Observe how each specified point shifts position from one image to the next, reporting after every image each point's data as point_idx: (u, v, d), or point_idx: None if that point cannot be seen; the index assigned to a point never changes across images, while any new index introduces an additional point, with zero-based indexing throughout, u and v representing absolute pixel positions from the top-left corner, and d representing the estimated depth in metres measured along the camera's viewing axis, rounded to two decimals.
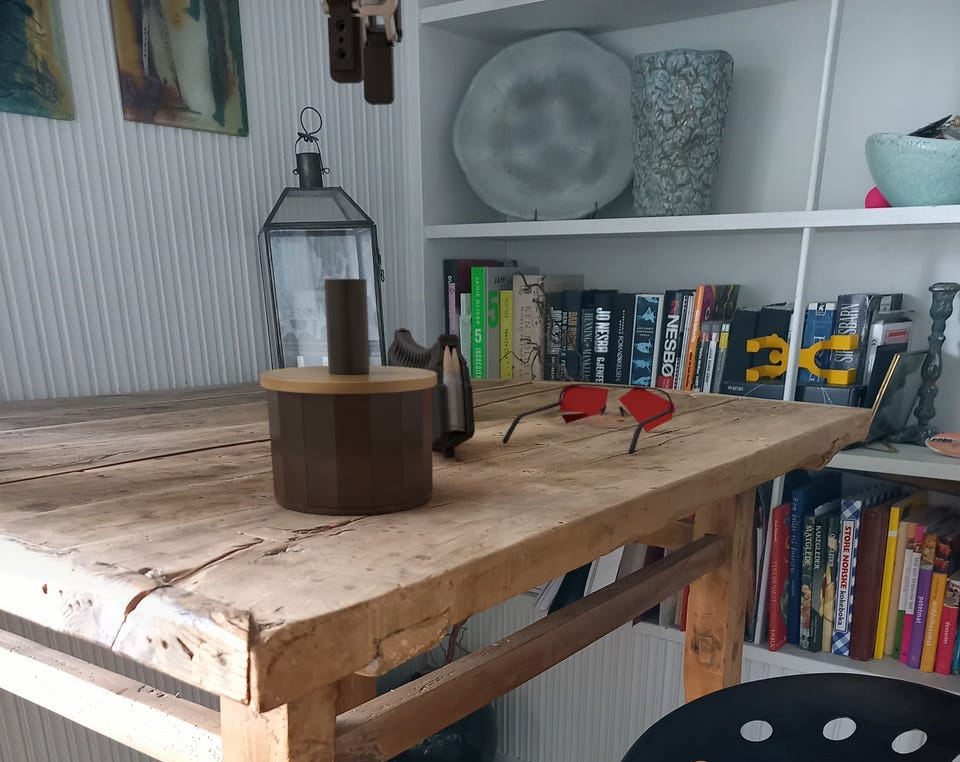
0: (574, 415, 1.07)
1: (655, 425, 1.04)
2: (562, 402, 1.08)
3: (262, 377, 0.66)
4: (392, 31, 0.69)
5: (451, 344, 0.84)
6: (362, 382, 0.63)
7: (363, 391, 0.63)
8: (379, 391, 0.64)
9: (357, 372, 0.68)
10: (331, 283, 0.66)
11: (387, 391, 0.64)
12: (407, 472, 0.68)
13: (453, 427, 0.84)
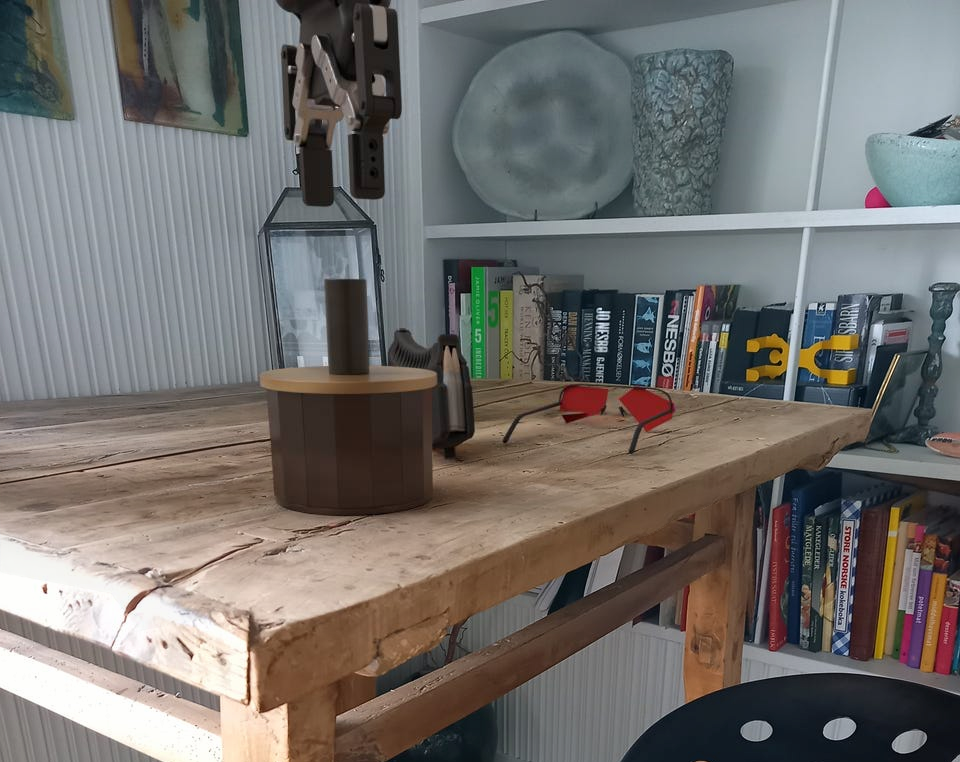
0: (574, 415, 1.07)
1: (655, 425, 1.04)
2: (562, 402, 1.08)
3: (262, 377, 0.66)
4: None
5: (451, 344, 0.84)
6: (362, 382, 0.63)
7: (363, 391, 0.63)
8: (379, 391, 0.64)
9: (357, 372, 0.68)
10: (331, 283, 0.66)
11: (387, 391, 0.64)
12: (407, 472, 0.68)
13: (453, 427, 0.84)
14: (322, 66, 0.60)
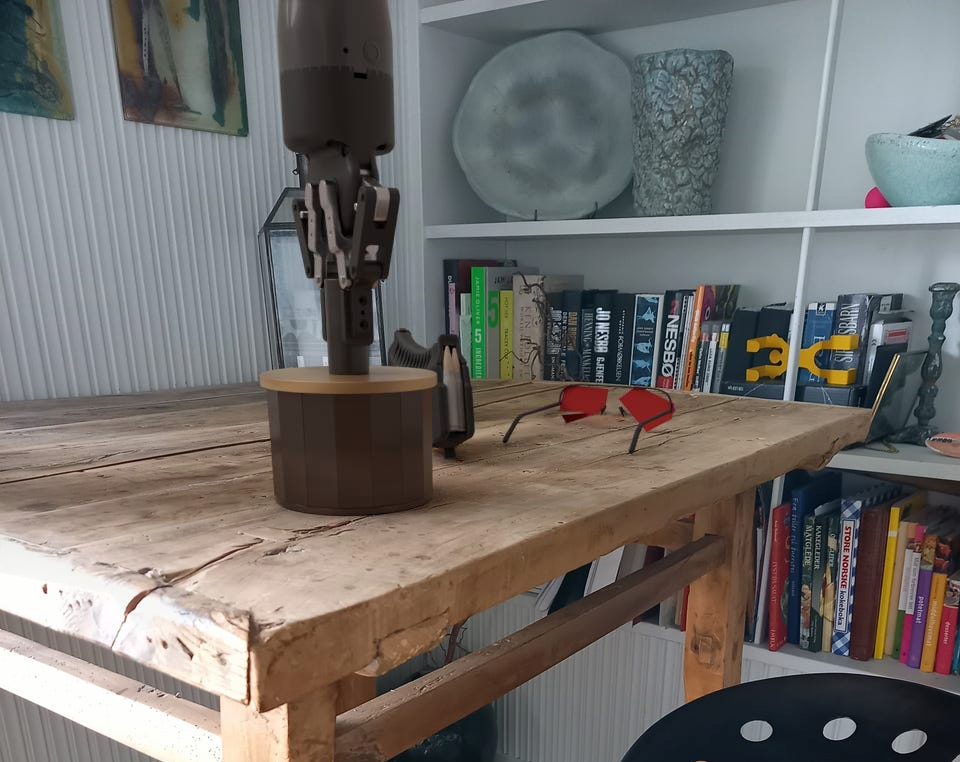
0: (574, 415, 1.07)
1: (655, 425, 1.04)
2: (562, 402, 1.08)
3: (262, 377, 0.66)
4: None
5: (451, 344, 0.84)
6: (362, 382, 0.63)
7: (363, 391, 0.63)
8: (379, 391, 0.64)
9: (357, 372, 0.68)
10: (331, 283, 0.66)
11: (387, 391, 0.64)
12: (407, 472, 0.68)
13: (453, 427, 0.84)
14: (326, 211, 0.63)
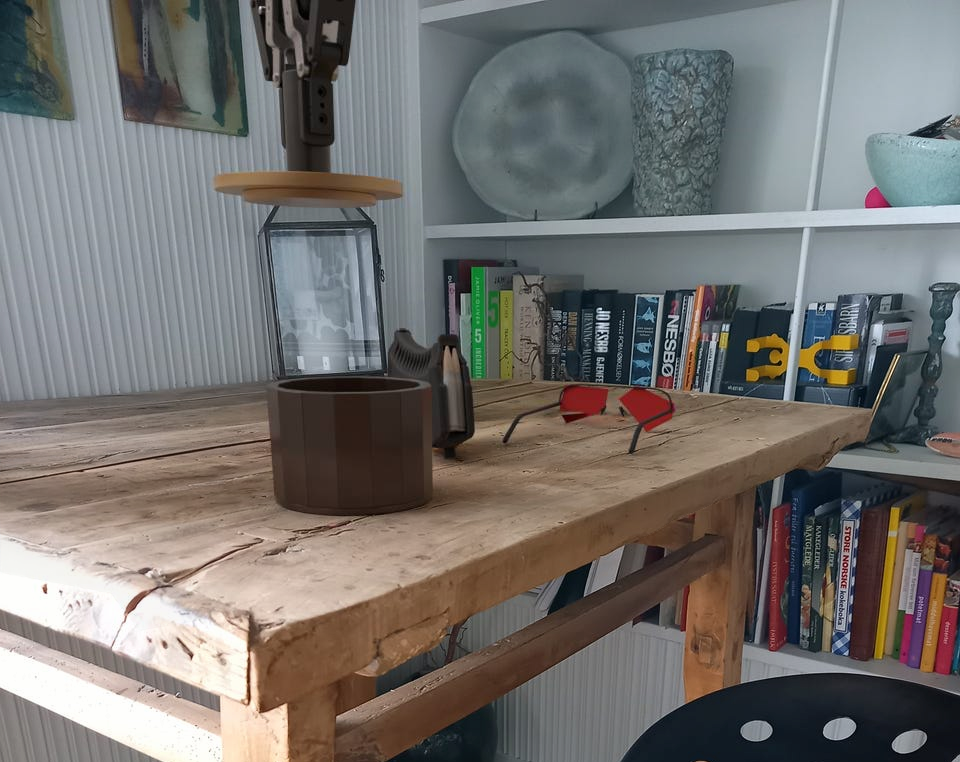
0: (574, 415, 1.07)
1: (655, 425, 1.04)
2: (562, 402, 1.08)
3: (215, 176, 0.62)
4: None
5: (451, 344, 0.84)
6: (319, 173, 0.59)
7: (320, 183, 0.59)
8: (338, 184, 0.60)
9: None
10: (289, 75, 0.62)
11: (346, 186, 0.60)
12: (407, 472, 0.68)
13: (453, 427, 0.84)
14: None
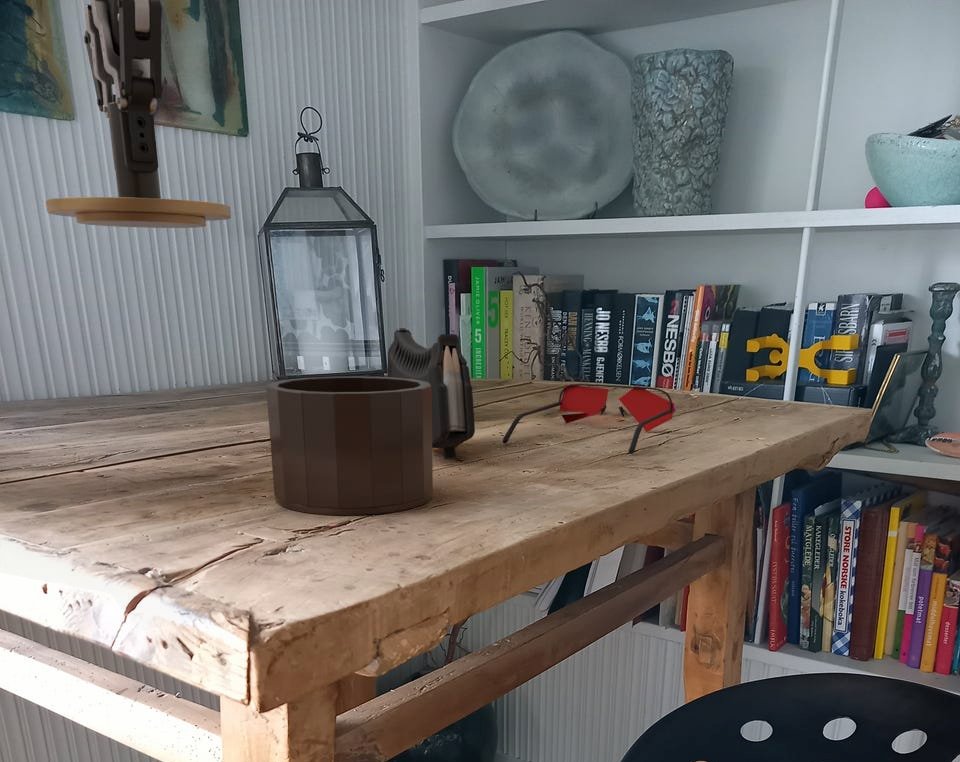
0: (574, 415, 1.07)
1: (655, 425, 1.04)
2: (562, 402, 1.08)
3: (46, 201, 0.67)
4: None
5: (451, 344, 0.84)
6: (134, 198, 0.64)
7: (136, 207, 0.64)
8: (153, 208, 0.64)
9: None
10: (112, 106, 0.66)
11: (161, 209, 0.65)
12: (407, 472, 0.68)
13: (453, 427, 0.84)
14: (99, 29, 0.64)
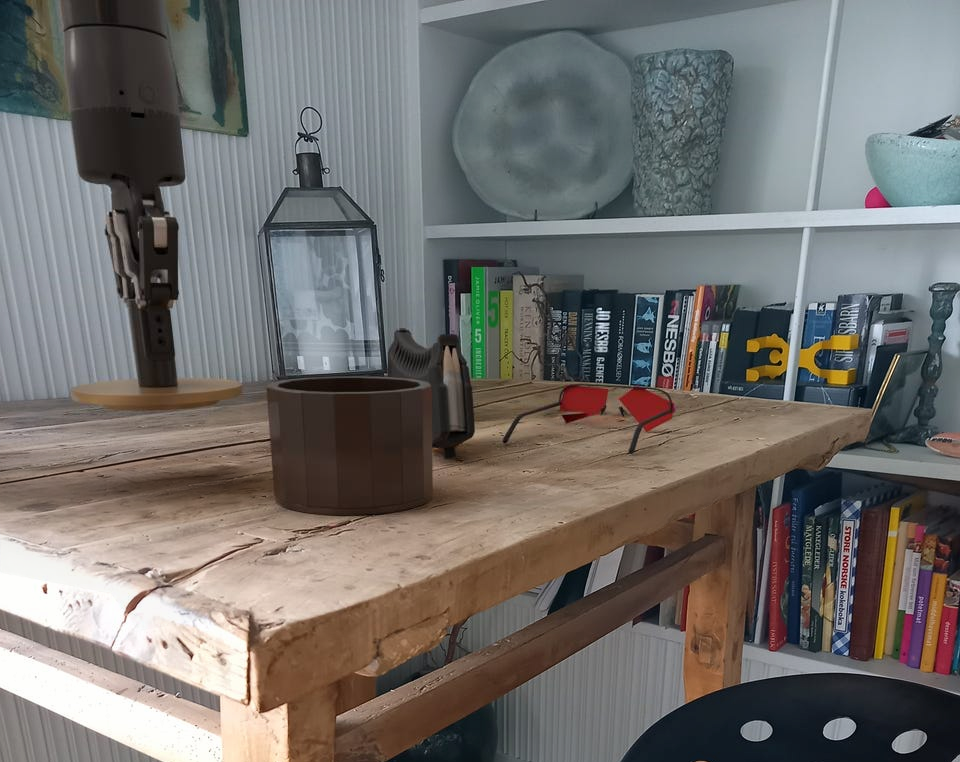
0: (574, 415, 1.07)
1: (655, 425, 1.04)
2: (562, 402, 1.08)
3: (71, 390, 0.72)
4: None
5: (451, 344, 0.84)
6: (154, 395, 0.69)
7: (155, 403, 0.69)
8: (171, 403, 0.69)
9: (162, 385, 0.73)
10: (132, 303, 0.71)
11: (179, 403, 0.69)
12: (407, 472, 0.68)
13: (453, 427, 0.84)
14: (120, 237, 0.69)
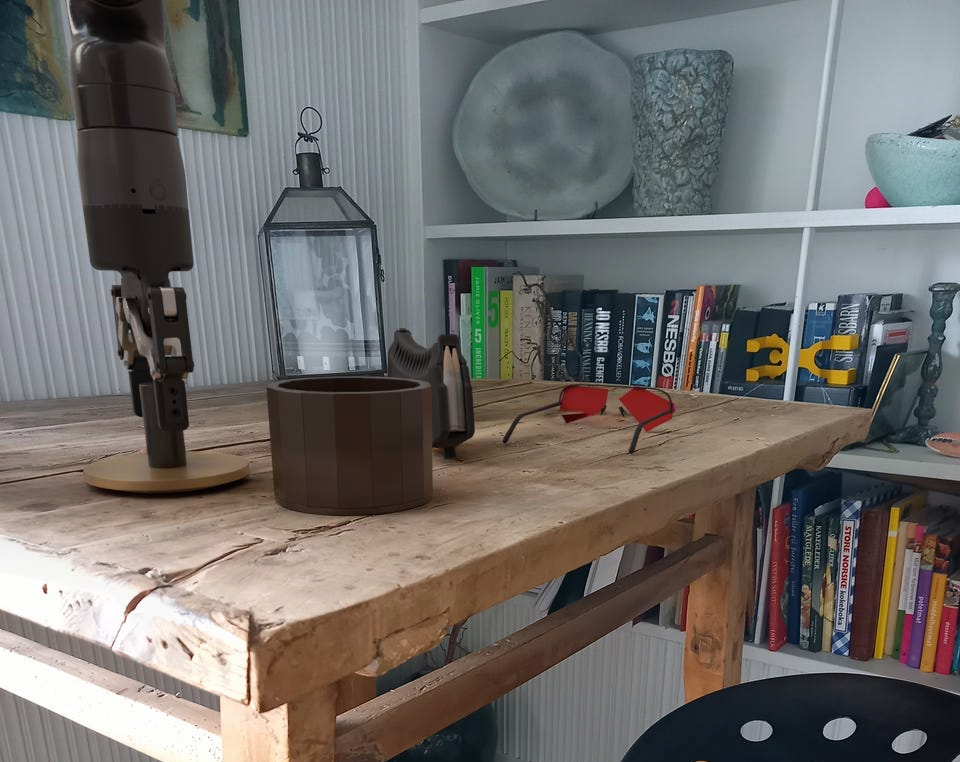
0: (574, 415, 1.07)
1: (655, 425, 1.04)
2: (562, 402, 1.08)
3: (83, 472, 0.74)
4: None
5: (451, 344, 0.84)
6: (164, 480, 0.71)
7: (166, 488, 0.71)
8: (181, 487, 0.72)
9: (172, 465, 0.76)
10: (143, 389, 0.73)
11: (189, 487, 0.72)
12: (407, 472, 0.68)
13: (453, 427, 0.84)
14: (131, 323, 0.71)
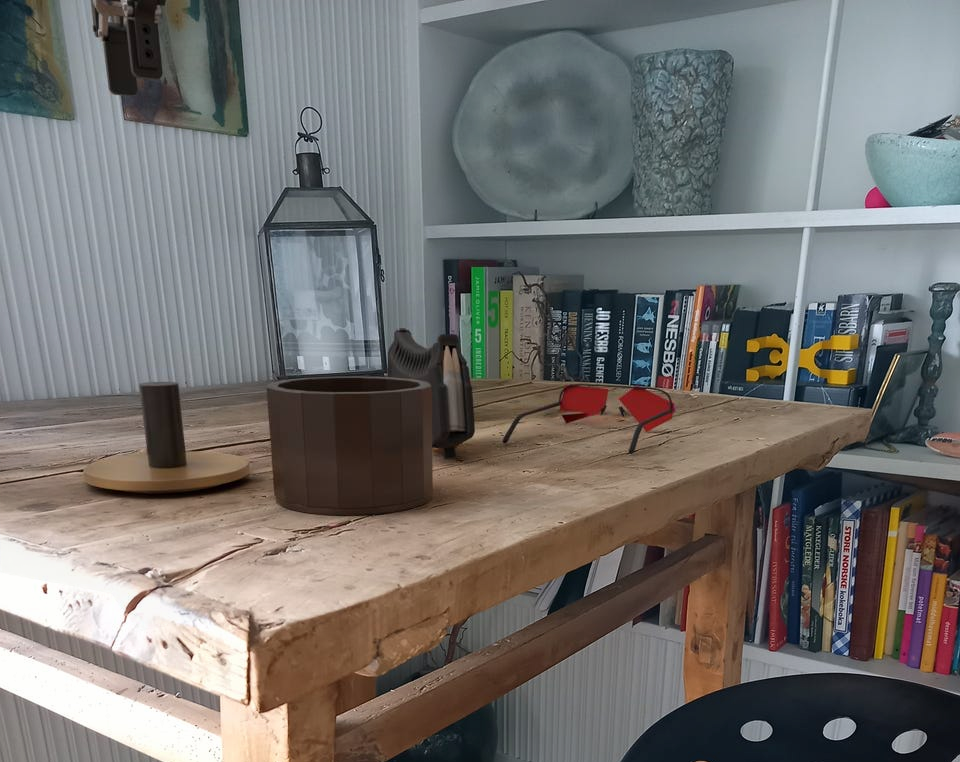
0: (574, 415, 1.07)
1: (655, 425, 1.04)
2: (562, 402, 1.08)
3: (83, 472, 0.74)
4: None
5: (451, 344, 0.84)
6: (164, 480, 0.71)
7: (166, 488, 0.71)
8: (181, 487, 0.72)
9: (172, 465, 0.76)
10: (143, 389, 0.73)
11: (189, 487, 0.72)
12: (407, 472, 0.68)
13: (453, 427, 0.84)
14: None
